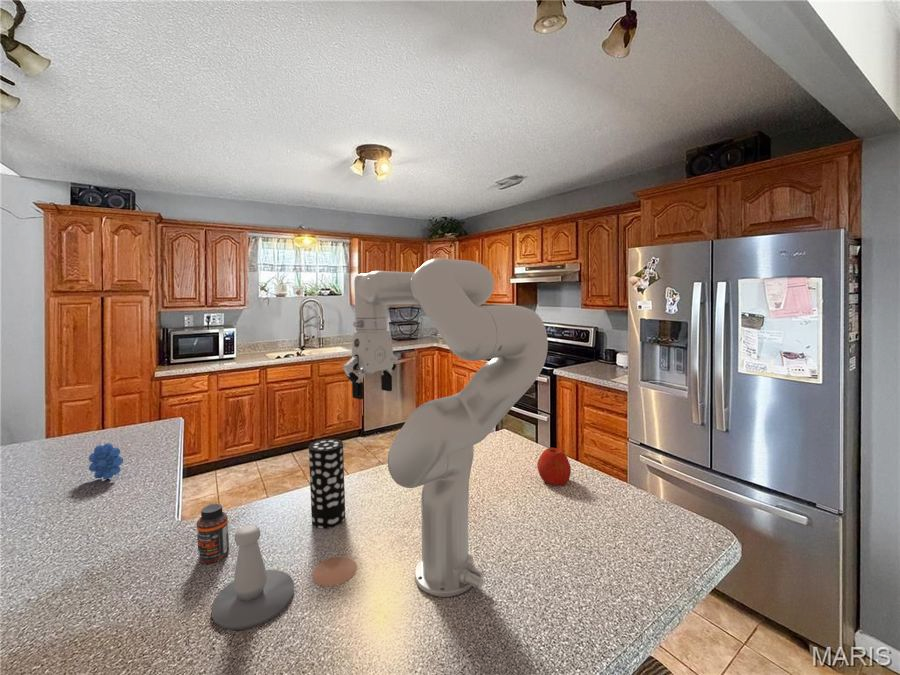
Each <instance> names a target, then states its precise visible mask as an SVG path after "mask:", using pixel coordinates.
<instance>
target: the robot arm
mask: <svg viewBox="0 0 900 675" xmlns="http://www.w3.org/2000/svg"><path fill="white" fill-rule="evenodd" d="M494 288H495V281H494V277H493V274H492V273H491V271H490V270H489V269H488V267H486V265H484V264H482V263H479V262H477V261H473V260H466V259H465V260H464V259H453V258H452V259H450V258H440V257H439V258H432V259H430V260H427V261H425V262H424V263H423V264H422V265H421V266H420V267H418V268H417V269H416V270H414V272H413V271H412V272H410V271H409V272H408V271H393V270H392V271H389V270H388V271H387V270H375V271H374V270H373V271H370V272H367V273H359V274H356V276H355V278H354V313H355V314H354V317H355V320H354V321H353V324H352V325H353V327H354V328H355V331H354V332H353V338H352V345H351V358H350V359H349V360H348V361H347V362H345V363H344V364H343V365H342V369H343V371H344V373H345V377H347V379H348V380H349V382H351V386H352V387H351V388H352V391H351V392H352V398H353V399H356V400H363V399H364V395H365V394H364V382H363V379H364V377H365V375H366V374H367V375H371V374H375V373H380V372H381V373H382V374H381V376H380V381H381V382H380V384H381V386H380V387H381V390H382V391H387V392H392V391H393V376H394V374H395V372H394V371H395V370H396V369H397V363H398V360H399V357H398V356H397V355H396V354H394V351H393V342H392V337H391V332H390V330H389V329H388V312H387V311H388V309H387V308H388V305H389V306H390V305H420V307H421V309H422V310H423V312H424V314H426V316H427V318H428V319H429V321H430V322H431V323H432V325H433V327H434V328H435V330H436V332H438V334H439V335H440V337H441V338H442V340H443V341H444V343H445V344H446V346H447V347H448V348H449V349H450V351H451V353H453V354H454V355H456V356H457V357H458V358H459V359H462V360H465V361H467V362H468V361H469V362H479V361H485V360H489V361H488V362H487V363H485V364H484V365H483V366H482V367H480V368H479V369H478V370H477V371H476V372H475V373H474V375H472V377H471V378H470V380H469V381H468V382H467V384H466V385H465V386H464V388H462V389H461V390H459V392H458V393H457V392H456V393H455V394H452V395H449V396H445V397H439V398H435V399H431V400H428V401H426V402H424V403H422V404H420V405H419V406H417V407H415V409H414V410H413V411H412V412H411V414H410V415H409V416H408V418H407V419H406V421H405V422H404V424H403V425H402V427H401V428H400V430H399V431H398V432H397V434H396V436H395V437H394V439H393V441H392V443H391V445H390V447H389V449H388V454H387V467H388V472H389V474H390V475H389V476H391V478H392V480H393V481H394V482H395V483H396V484H397V485H398V486H400V487H403V488H407V489H414V488H418V487H421V486H422V489H421V499H420V500H421V501H420V502H421V559H420V560H419V561H418V562H417V563H416V566H415V569H414V580H415V581H414V582H415V583H416V585H417V587H419V588H420V590H422V591H423V592H424V593H427V594H428V595H430V596H435V597H440V598H448V597H449V598H450V597H455V596H458V595H461V594H463V593H465V592H467V591H468V590H469V589H470V588H472V587H474V588H475V589H478V590H481V589H482V587H483V585H484V578H483V577H484V575H485V571H484V570H483V569H481V568H479V567H476V565H475V564H474V556H473V555H471V554H469V505H470V504H469V503H470V502H469V501H470V500H469V498H470V497H469V490H470V488H469V487H470V476H471V471H472V467H473V466H472V465H473V461H474V455H475V453H474V450H475V449H474V446H475V445H476V444H479V443H481V442H482V441H484V439H486V438H487V437H488V435H490V433H491V432H492V431H493V429H495V428H496V426H497V425H498V424H499V423H500V422H501V421H502V420H503V418H504V417H505V416H506V415H507V414H508V413H509V412H510V411H511V409H512V408H513V407H514V406H515V404H516V403H518V401H519V400H520V399H521V398H522V397H523V395H525V393H527V391H528V390H529V389H530V388H531V387H532V386H533V384H534V383H535V382H536V380H537V379H538V378H539V375H540V373H542V370H543V368H544V366H545V363H546V361H547V360H546V359H547V355H548V348H549V346H548V345H549V344H548V343H549V341H548V340H549V338H548V335H547V329H546V327H545V324H544V321H543V320H542V318H541V317H540V316H539V315H538V314H537V313H536V312H535V311H534V310H532V309H530V308H528V307H526V306H525V307H524V306H521V305H513V304H500V305H499V304H498V305H497V304H496V305H495V304H494V305H493V304H492V305H483V304H485V303H486V302H487V301H488V300H489V299H490V298H491V296H492V294H493V292H494Z"/></svg>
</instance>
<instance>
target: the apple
mask: <svg viewBox="0 0 900 675" xmlns="http://www.w3.org/2000/svg"><path fill="white" fill-rule="evenodd" d="M536 465H537V466H536V468H537V471H538V474H539V476H540V478H541V479H542V481H543V482H545V483H546V484H548V485H552V486H564V485H566V484H567V483H568V482H570V478H571V475H572V474H571V473H572V472H571V469H572V468H571V463H570V461H569V459H568V457H567V455H566V454H565V452H564V451H563V450H562V449H561V448H557V447H548V448H546V449H544V450H543V451H542V453H541V454H540V456H539V458H538V460H537V463H536Z"/></svg>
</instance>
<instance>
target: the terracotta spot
mask: <svg viewBox="0 0 900 675" xmlns="http://www.w3.org/2000/svg"><path fill="white" fill-rule="evenodd" d="M357 566H358V565H357V563H356V561H355V560H354V559H352V558H350V557H347V556H334V557H333V556H332V557H330V558H327V559H324V560H322V561H320V562H319V563H318V564H317V565H315V567H314V568H313V569H312V572H311V578H312V580H313V582H314V583H316V584H317V585H319V586H323V587H335V586H338V585H341V584H344V583H346V582H348V581H349V580H351V579H352V578H353V577H354V575H355V574H356V572H357V568H358V567H357Z"/></svg>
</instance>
